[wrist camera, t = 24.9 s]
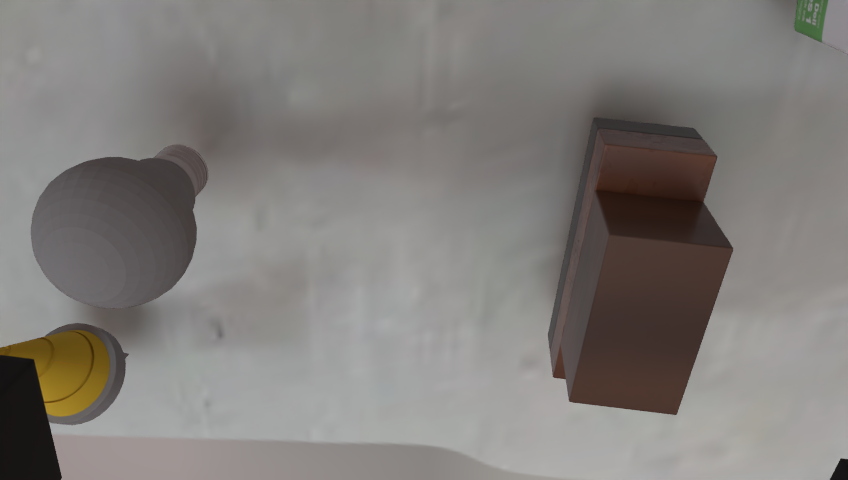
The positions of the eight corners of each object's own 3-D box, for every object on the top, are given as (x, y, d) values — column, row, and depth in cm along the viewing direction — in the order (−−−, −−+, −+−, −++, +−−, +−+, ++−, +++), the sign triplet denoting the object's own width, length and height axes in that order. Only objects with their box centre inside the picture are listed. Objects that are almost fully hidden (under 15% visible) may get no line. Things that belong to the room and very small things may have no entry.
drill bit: (50, 370, 41) (-86, 340, 32) (127, 318, 42) (15, 273, 32) (87, 447, 39) (-46, 438, 30) (166, 392, 40) (59, 366, 30)
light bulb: (143, 84, 32) (9, 165, 23) (263, 143, 32) (179, 243, 24) (112, 189, 34) (-18, 297, 26) (223, 240, 35) (135, 363, 26)
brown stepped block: (593, 117, 31) (621, 183, 24) (695, 127, 30) (751, 198, 24) (547, 335, 36) (560, 438, 30) (632, 345, 36) (664, 450, 30)
